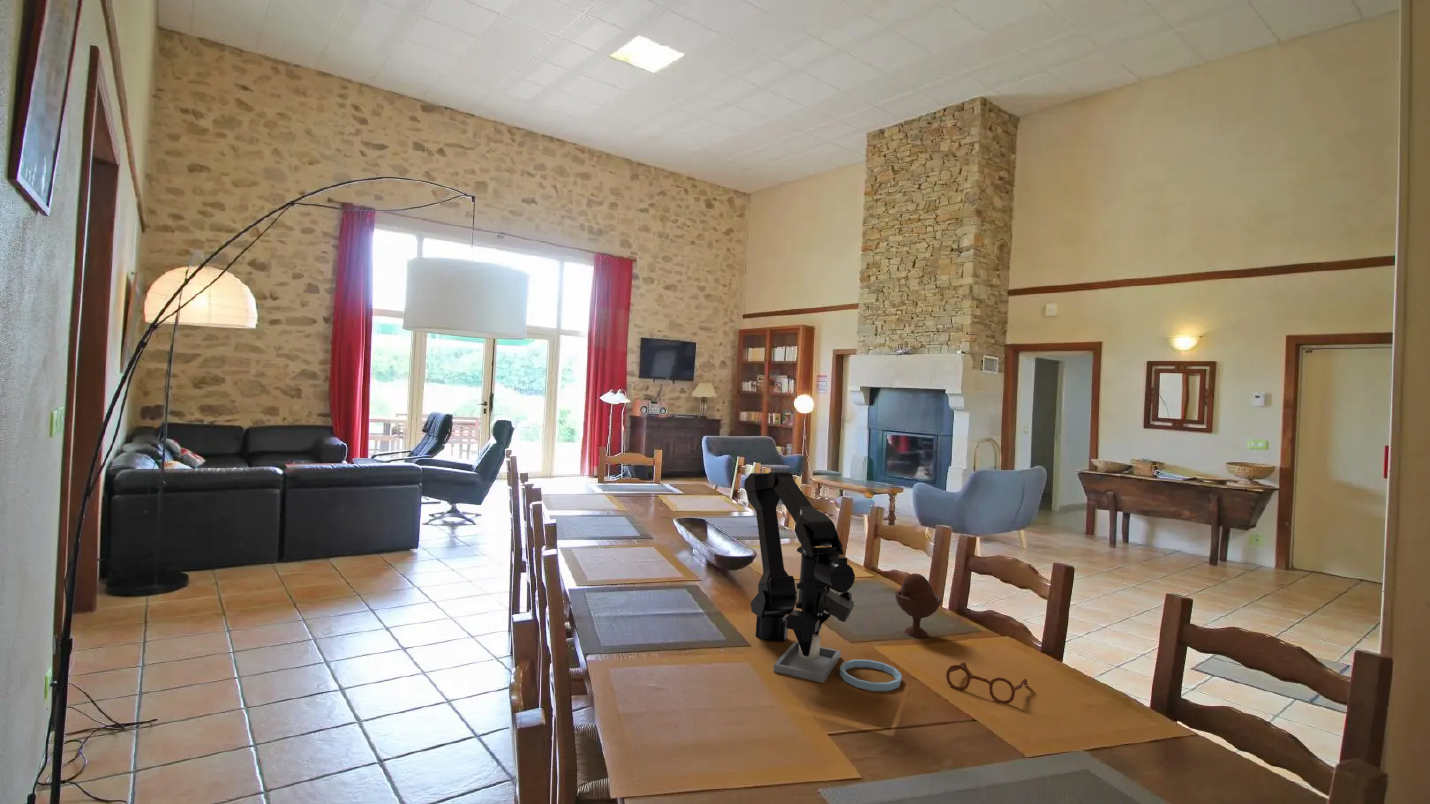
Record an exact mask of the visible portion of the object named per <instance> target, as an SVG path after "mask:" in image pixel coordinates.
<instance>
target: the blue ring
mask: <svg viewBox="0 0 1430 804" xmlns="http://www.w3.org/2000/svg"><path fill="white" fill-rule="evenodd" d="M854 668H868V669H869V668H870V669H875V670H877V671H882V672H885V673H887V674H889V675H891V676H892V677H893V678H894V679H893V680H891V681H888V682H873V681H868V680H863V679H859V678H857V677H855V676H852V675H851V674H849V673H848V672H847V670H850V669H854ZM839 676H840V677H841V678H842V680H843V682H846V683H847V684H850V685H851V686H853V687H856V688H858V689H862V690H863V689H864V690H867V691H871V692H889V691H893V690H895V689H898V688H900V686H901V683H902V678H903V676H902V673H901V672H900V671H899V670H898V669H897V668H896V667H893V666H892V665H890V664H887V663H885V662H881V661H877V660H872V659H856V658H855V659H851V660H847V661H844V662H842V663H841V665H840V667H839Z"/></svg>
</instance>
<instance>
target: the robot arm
mask: <svg viewBox="0 0 1430 804" xmlns="http://www.w3.org/2000/svg"><path fill="white" fill-rule="evenodd" d="M743 485H744V486H743V487H744V490H745V493H746V497H747V498H746V499H747V501H748V503H749V505H751V506H752V508H753V509H754V511H755V515H756V523H757V531H758V538H759V546H760V547H759V548H760V556H761V564H762V575H761V577H760V579H759V582H758V585H757V594H756V595H755V596H754V598H752V600H751V601H750V610H751V612H752V614H754V615H755V616H756V622H755V625H756V627H755V637H756V638H759V639H760V640H763V641H766V642H779V643H781V642H782V643H783V642H785V641H786V640H787V639H788V633H789V631H788V630H792V631H793V633H794V635H795V638H796V640H797V642H798V643H799V645H800V648H801V650H802V653H803V655H804V656H809V653H810V649H811V645H812V640H813V636H814V634H817V635H819V636H820V631H821V629H822V626H823V624H824V623H825V622H827V621H828V619H829V618H830V617H831V616H833V617H835V618H837V620H839V621H840V622H843V623H845V622H847V620H848V619H849V618H850V615H851V613H852V611H853V608H854V606H855V602H854V601H853V600H852V599H853V598H852V596H853V595H852V593H851V592H850V589H851V588H852V587H853V585H854V583H855V580H856V579H855V578H856V576H855V575H856V574H855V571H854V569H853V568H852V566H851V565H849V564H848V558H847V557H846V556H842V555H844V551H843V544H842V542H841V540H840V537H839V534H838V532H837V528H836V525H835V523H834V522H833V520H832V519H831V518H829V516H827V514H825V513H823V512H822V511H820V510H818V509H816V508H815V507H813V505H812V504H811V502H810V501H809V500H808V498H807V496H806V495H805V494H804V493H803V491H802V490H801V488H800V487H799V486H798V484H797V482H795V480H794V476H793V473H791V472H790V471H788V470H772V471H769V472H751V473H749V474H748V476H747V477H746V478H745V480H744V483H743ZM780 501H781V503H782V504H783V505H784V507H785V508H786V510H787V511H788V513H789V515H790V516H791V518H792V519H793V522H794V523H795V524H794V530H793V531H794V532H795V535H796V538H797V539H798V541H799V543H800V546H799V547H797V549H796V552H797V553H799V554H801V556H800V557H801V559H800V572H799V573H800V574H799V582H797V583H795V582H796V581H795V578H794V576H793V575H789V574H788V572H787V570H786V569H785V566H784V565H785V564H784V563H785V562H784V558H783V549H782V541H781V535H780V528H779V527H780V525H779V520H778V513H777V511H778V510H777V507H778V504H779V502H780ZM797 589H799V590H798V600H797ZM834 591H835V592H834Z"/></svg>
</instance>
